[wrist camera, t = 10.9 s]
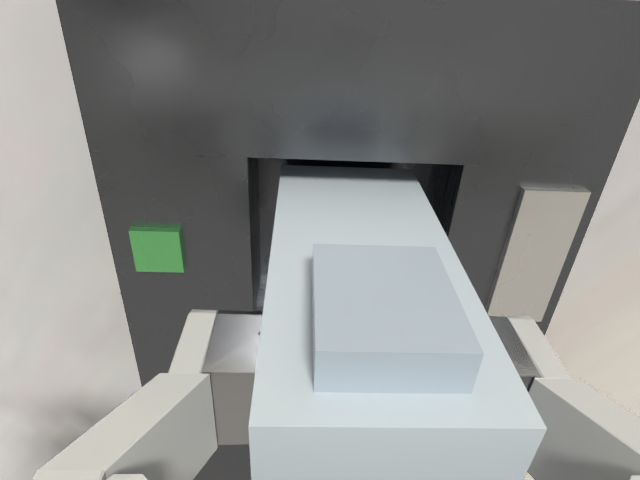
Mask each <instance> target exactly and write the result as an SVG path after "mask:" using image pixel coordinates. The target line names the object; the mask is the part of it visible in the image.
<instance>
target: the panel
mask: <svg viewBox="0 0 640 480" xmlns="http://www.w3.org/2000/svg"><path fill="white" fill-rule="evenodd" d="M56 4H57V9H58V13H59V18H60V22H61V27H62V31H63V36H64V40H65V44H66V49H67V53H68V58H69V62H70V67H71V71H72V76H73V80H74V85H75V89H76V94H77V98H78V103H79V107H80V111H81V116H82V120H83V125H84V129H85V134H86V138H87V143H88V147H89V152H90V156H91V161H92V165H93V170H94V174H95V178H96V183H97V187H98V192H99V196H100V201H101V205H102V210H103V214H104V219H105V223H106V228H107V232H108V237H109V241H110V245H111V250H112V254H113V259H114V263H115V268H116V272H117V277H118V281H119V286H120V290H121V295H122V299H123V304H124V308H125V313H126V317H127V321H128V326H129V330H130V335H131V339H132V344H133V348H134V353H135V357H136V362H137V366H138V371H139V375H140V380H141V384H142V387H143V386H144V385H145V384H147V383H148V382H149V381H150V380H152V379H153V378H154V377H155V376H157V375H158V374H159V373H168V372H169V369H170V366H171V363H172V360H173V357H174V354H175V351H176V348H177V345H178V342H179V339H180V337H181V334H182V331H183V328H184V325H185V322H186V319H187V316H188V314H189V313H190V312H191V310H192V309H199V310H218V311H219V310H235V311H259V312H263V307H264V299H265V291H266V283H267V275H268V267H269V259H270V251H271V244H272V236H273V228H274V220H275V212H276V204H277V196H278V188H279V180H280V172H281V165H298V166H328V167H357V168H387V169H412V170H413V172H414V174H415V176H416V178H417V180H418V182H419V183H420V185H421V187H422V189H423V191H424V193H425V195H426V197H427V199H428V201H429V203H430V205H431V207H432V208H433V210H434V212H435V214H436V216H437V218H438V220H439V222H440V224H441V226H442V228H443V230H444V232H445V233H446V235H447V237H448V239H449V241H450V243H451V245H452V247H453V249H454V251H455V253H456V255H457V257H458V258H459V260H460V262H461V264H462V266H463V268H464V270H465V272H466V274H467V276H468V278H469V280H470V282H471V284H472V285H473V287H474V289H475V291H476V293H477V295H478V297H479V299H480V301H481V303H482V305H483V307H484V309H485V310H486V312H487V314H488V316H530V317H531V318H533V319H534V321H535V322H536V324H537V325H538V327H539V328H540V330H541V331H542V333H543V334H544V336H545V333H546V331H547V328H548V326H549V323H550V321H551V318H552V316H553V313H554V311H555V308H556V306H557V303H558V301H559V298H560V296H561V293H562V291H563V288H564V286H565V283H566V281H567V278H568V276H569V273H570V271H571V268H572V266H573V263H574V261H575V258H576V256H577V253H578V251H579V248H580V246H581V243H582V241H583V238H584V236H585V233H586V231H587V228H588V226H589V223H590V221H591V218H592V216H593V213H594V211H595V208H596V206H597V203H598V201H599V198H600V196H601V193H602V191H603V188H604V186H605V183H606V181H607V178H608V176H609V173H610V171H611V168H612V166H613V163H614V161H615V158H616V156H617V153H618V151H619V148H620V146H621V143H622V141H623V138H624V136H625V133H626V131H627V128H628V126H629V123H630V121H631V118H632V116H633V114H634V111H635V109H636V106H637V104H638V101H639V99H640V0H56ZM217 446H218V448H217V449H216V451H215V452H214V453H213V455H212V456H211V457H210V458H209V460H208V461H207V462H206V464H205V465H204V466H203V467H202V469H201V470H200V471H199V473H198V474H197V475H196V476H195V478H194V479H193V480H251V466H250V447H249V444H240V445H217Z"/></svg>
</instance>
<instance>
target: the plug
mask: <svg viewBox="0 0 640 480" xmlns="http://www.w3.org/2000/svg"><path fill="white" fill-rule="evenodd" d="M248 429H249V447H250V466H251V480H523V479H524V477H525V475H526V473H527V471H528V468H529V466H530V464H531V462H532V460H533V458H534V456H535V454H536V451H537V449H538V447H539V445H540V443H541V441H542V439H543V437H544V434H545V432H546V430H547V428H546V426H545V424H544V422H543V420H542V418H541V416H540V414H539V412H538V411H537V409H536V407H535V405H534V403H533V401H532V399H531V397H530V395H529V393H528V391H527V389H526V387H525V386H524V384H523V382H522V380H521V378H520V376H519V374H518V372H517V370H516V368H515V366H514V364H513V362H512V360H511V359H510V357H509V355H508V353H507V351H506V349H505V347H504V345H503V343H502V341H501V339H500V337H499V335H498V334H497V332H496V330H495V328H494V326H493V324H492V322H491V320H490V318H489V316H488V314H487V312H486V310H485V309H484V307H483V305H482V303H481V301H480V299H479V297H478V295H477V293H476V291H475V289H474V287H473V285H472V284H471V282H470V280H469V278H468V276H467V274H466V272H465V270H464V268H463V266H462V264H461V262H460V260H459V258H458V257H457V255H456V253H455V251H454V249H453V247H452V245H451V243H450V241H449V239H448V237H447V235H446V233H445V232H444V230H443V228H442V226H441V224H440V222H439V220H438V218H437V216H436V214H435V212H434V210H433V208H432V207H431V205H430V203H429V201H428V199H427V197H426V195H425V193H424V191H423V189H422V187H421V185H420V183H419V182H418V180H417V178H416V176H415V174H414V172H413V170H412V169H387V168H357V167H328V166H298V165H281V172H280V180H279V188H278V196H277V204H276V212H275V220H274V228H273V236H272V244H271V251H270V259H269V267H268V275H267V283H266V291H265V299H264V307H263V315H262V323H261V331H260V339H259V347H258V354H257V362H256V370H255V378H254V386H253V394H252V402H251V410H250V418H249V426H248Z"/></svg>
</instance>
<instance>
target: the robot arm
mask: <svg viewBox="0 0 640 480" xmlns="http://www.w3.org/2000/svg"><path fill="white" fill-rule="evenodd" d="M262 315H263V312H259V311H235V310H219V311H218V310H199V309H192V310H191V312H190V313H189V314H188V316H187V319H186V322H185V325H184V328H183V331H182V334H181V337H180V339H179V342H178V345H177V348H176V351H175V354H174V357H173V360H172V363H171V366H170V369H169V372H168V373H159V374H158V375H157V376H155V377H154V378H153V379H152V380H150V381H149V382H148V383H147V384H145V385H144V386H143V387H142V388H140V389H139V390H138V391H137V392H135V393H134V394H133V395H131V396H130V397H129V398H128V399H126V400H125V401H124V402H123V403H121V404H120V405H119V406H118V407H116V408H115V409H114V410H113V411H111V412H110V413H109V414H108V415H106V416H105V417H104V418H103V419H101V420H100V421H99V422H98V423H96V424H95V425H94V426H93V427H91V428H90V429H89V430H87V431H86V432H85V433H84V434H82V435H81V436H80V437H79V438H77V439H76V440H75V441H74V442H72V443H71V444H70V445H69V446H67V447H66V448H65V449H64V450H62V451H61V452H60V453H59V454H57V455H56V456H55V457H54V458H52V459H51V460H50V461H49V462H47V463H46V464H45V465H43V466H42V467H41V468H40V469H38V470H37V471H36V473H35V475H34V477H33V479H32V480H193V479H194V478H195V476H196V475H197V474H198V473H199V471H200V470H201V469H202V467H203V466H204V465H205V464H206V462H207V461H208V460H209V458H210V457H211V456H212V455H213V453H214V452H215V451H216V449H217V448H218V446H217V445H240V444H249V429H248V426H249V418H250V410H251V402H252V394H253V386H254V378H255V370H256V362H257V354H258V347H259V339H260V331H261V323H262ZM489 318H490V320H491V322H492V324H493V326H494V328H495V330H496V332H497V334H498V335H499V337H500V339H501V341H502V343H503V345H504V347H505V349H506V351H507V353H508V355H509V357H510V359H511V360H512V362H513V364H514V366H515V368H516V370H517V372H518V374H519V376H520V378H521V380H522V382H523V384H524V386H525V387H526V389H527V391H528V393H529V395H530V397H531V399H532V401H533V403H534V405H535V407H536V409H537V411H538V412H539V414H540V416H541V418H542V420H543V422H544V424H545V426H546V428H547V430H546V432H545V434H544V437H543V439H542V441H541V443H540V445H539V447H538V449H537V451H536V454H535V456H534V458H533V460H532V462H531V464H530V466H529V468H528V471H527V472H528V473H529V474H530V475H531V476H532V477H533V478H534V479H535V480H640V417H639V416H637V415H636V414H634V413H633V412H631V411H630V410H628V409H627V408H625V407H624V406H622V405H621V404H619V403H617V402H616V401H614V400H613V399H611V398H610V397H608V396H607V395H605V394H604V393H602V392H601V391H599V390H597V389H596V388H594V387H593V386H591V385H590V384H588V383H587V382H585V381H584V380H582V379H581V378H572V377H571V375H570V374H569V372H568V371H567V369H566V368H565V366H564V365H563V363H562V362H561V360H560V359H559V357H558V356H557V354H556V353H555V351H554V350H553V348H552V347H551V345H550V343H549V342H548V340H547V339H546V337H545V336H544V334H543V333H542V331H541V330H540V328H539V327H538V325H537V324H536V322H535V321H534V319H533V318H531V317H530V316H489Z"/></svg>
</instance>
